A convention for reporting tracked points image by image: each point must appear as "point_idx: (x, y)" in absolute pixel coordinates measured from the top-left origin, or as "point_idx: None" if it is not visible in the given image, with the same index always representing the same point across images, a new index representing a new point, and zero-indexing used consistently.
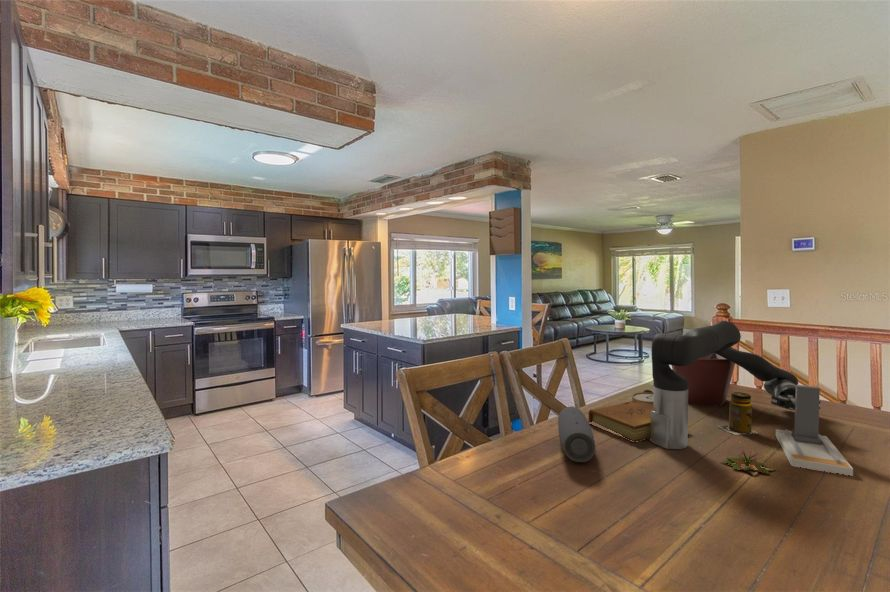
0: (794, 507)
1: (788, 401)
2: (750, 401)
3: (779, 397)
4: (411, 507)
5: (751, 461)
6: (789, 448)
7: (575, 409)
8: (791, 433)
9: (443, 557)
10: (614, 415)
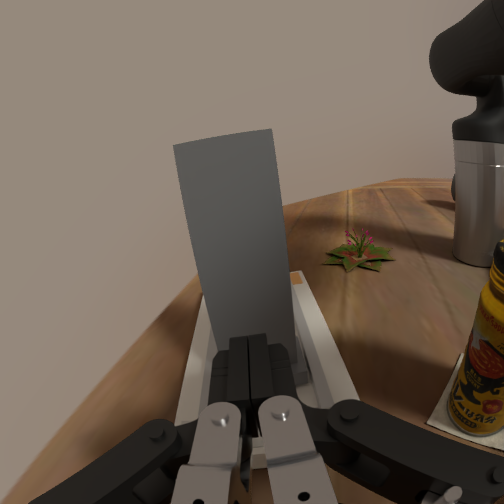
0: (296, 230)
1: (338, 403)
2: (492, 282)
3: (445, 493)
4: (448, 182)
5: (353, 244)
6: (308, 302)
7: None
8: (307, 376)
9: (407, 180)
10: None
